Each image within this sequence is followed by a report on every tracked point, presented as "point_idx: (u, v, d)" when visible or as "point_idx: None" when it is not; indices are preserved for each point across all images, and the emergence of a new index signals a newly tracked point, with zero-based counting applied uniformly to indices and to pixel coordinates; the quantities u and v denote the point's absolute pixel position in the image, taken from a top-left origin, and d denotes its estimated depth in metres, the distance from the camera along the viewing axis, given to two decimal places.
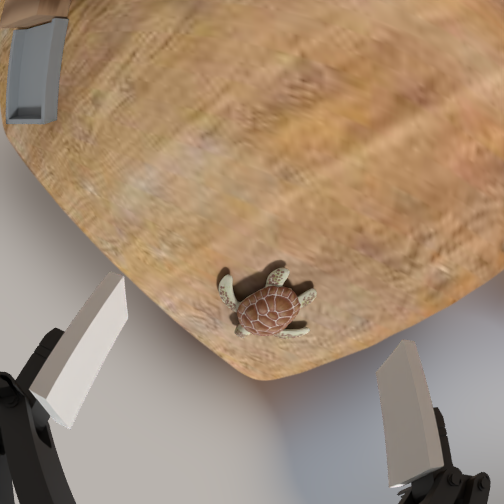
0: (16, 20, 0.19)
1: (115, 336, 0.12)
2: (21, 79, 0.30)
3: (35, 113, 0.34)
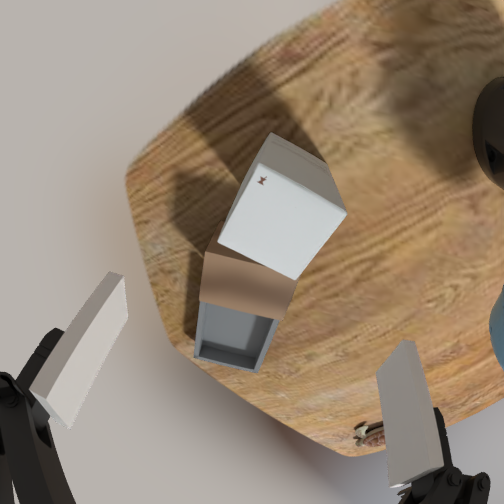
0: (240, 310, 0.34)
1: (115, 336, 0.12)
2: (209, 320, 0.45)
3: (232, 351, 0.48)
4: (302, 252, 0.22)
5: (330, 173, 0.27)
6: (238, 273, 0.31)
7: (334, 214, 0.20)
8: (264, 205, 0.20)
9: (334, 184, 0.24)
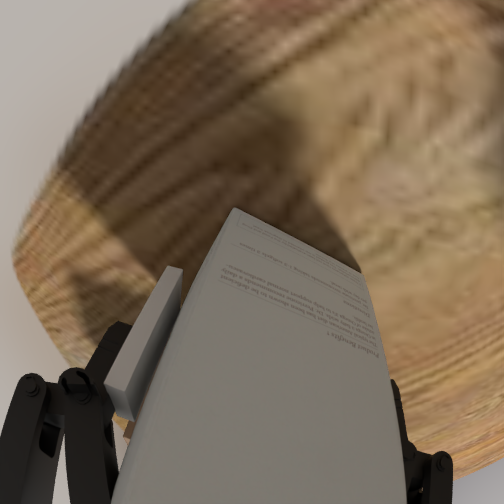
0: None
1: (171, 328, 0.13)
2: None
3: None
4: None
5: (377, 329, 0.11)
6: None
7: None
8: None
9: (391, 404, 0.08)
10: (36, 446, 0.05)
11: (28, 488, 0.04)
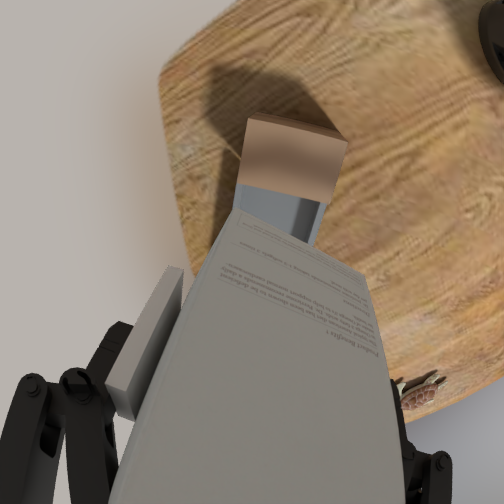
0: (284, 191, 0.30)
1: (172, 328, 0.13)
2: None
3: None
4: None
5: (377, 329, 0.11)
6: (282, 142, 0.27)
7: None
8: None
9: (391, 403, 0.08)
10: (37, 446, 0.05)
11: (29, 488, 0.04)
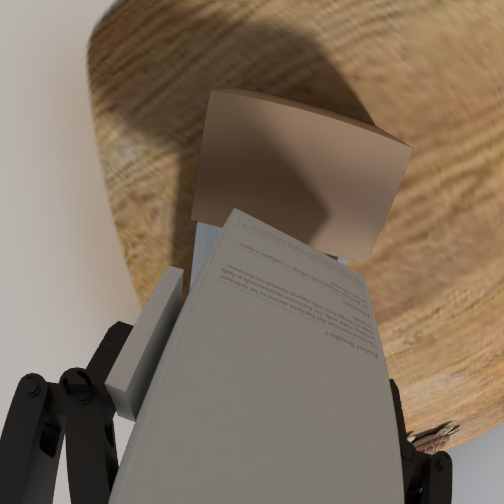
0: None
1: (172, 328, 0.13)
2: None
3: None
4: None
5: (376, 330, 0.11)
6: (282, 141, 0.13)
7: None
8: None
9: (390, 404, 0.08)
10: (37, 446, 0.05)
11: (29, 488, 0.04)
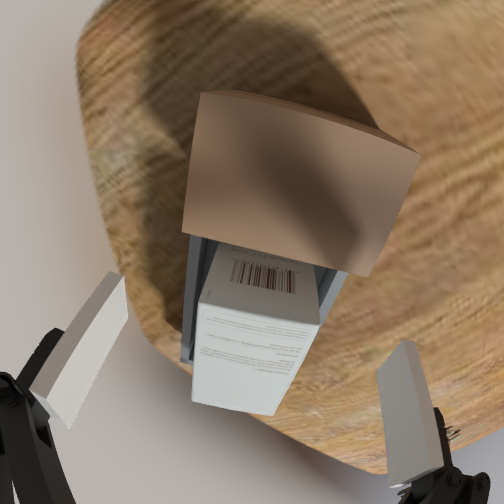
0: (278, 252, 0.15)
1: (115, 336, 0.12)
2: None
3: None
4: None
5: (299, 362, 0.18)
6: (280, 147, 0.12)
7: None
8: None
9: (284, 388, 0.20)
10: None
11: None
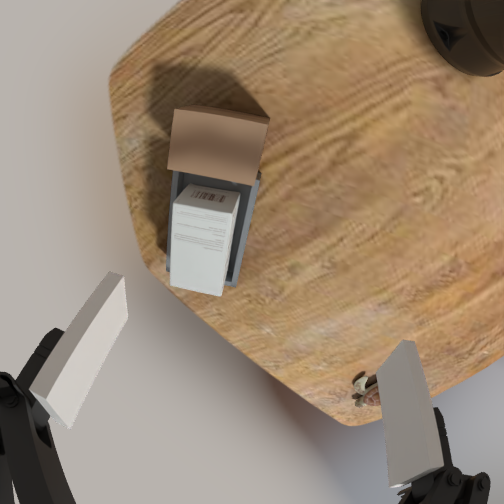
0: (209, 175, 0.32)
1: (115, 336, 0.12)
2: None
3: None
4: None
5: (226, 241, 0.35)
6: (205, 129, 0.29)
7: None
8: None
9: (222, 264, 0.37)
10: None
11: None
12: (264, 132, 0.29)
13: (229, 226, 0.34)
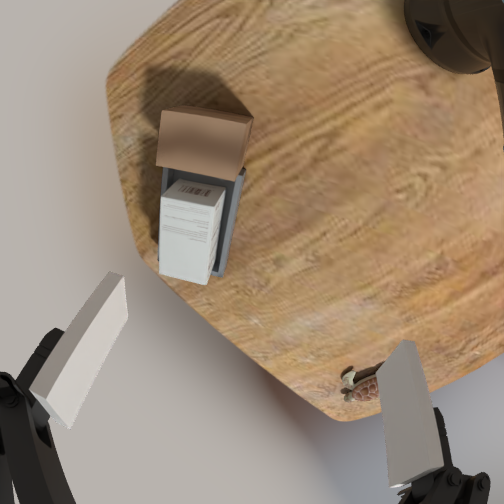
0: (193, 171, 0.34)
1: (115, 336, 0.12)
2: None
3: None
4: None
5: (210, 232, 0.37)
6: (190, 128, 0.31)
7: None
8: None
9: (206, 255, 0.39)
10: None
11: None
12: (243, 131, 0.31)
13: (212, 218, 0.36)
